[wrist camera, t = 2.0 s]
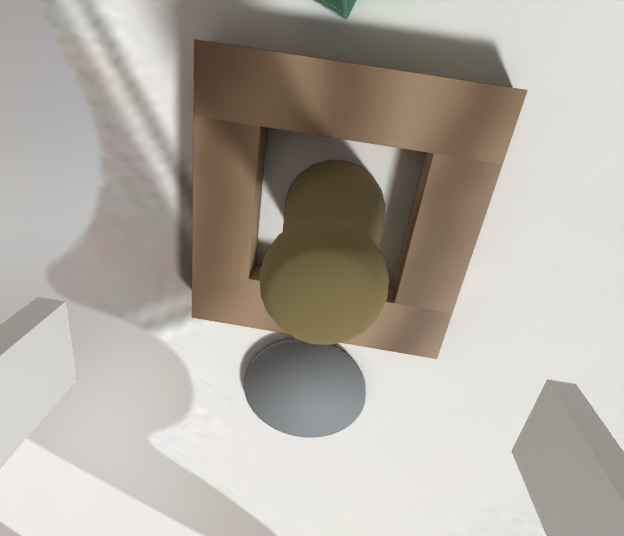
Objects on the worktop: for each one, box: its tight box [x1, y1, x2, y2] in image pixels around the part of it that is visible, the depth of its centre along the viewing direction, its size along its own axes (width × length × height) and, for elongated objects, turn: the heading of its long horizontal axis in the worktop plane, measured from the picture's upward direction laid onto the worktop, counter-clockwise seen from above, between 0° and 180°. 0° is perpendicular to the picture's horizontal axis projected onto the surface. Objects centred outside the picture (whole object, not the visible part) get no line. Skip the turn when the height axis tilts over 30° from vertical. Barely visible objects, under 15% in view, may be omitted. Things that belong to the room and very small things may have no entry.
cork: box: [259, 160, 389, 345], centre depth 20 cm, size 6×6×11 cm
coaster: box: [244, 338, 365, 437], centre depth 31 cm, size 9×9×1 cm
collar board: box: [192, 39, 527, 359], centre depth 24 cm, size 16×16×2 cm
